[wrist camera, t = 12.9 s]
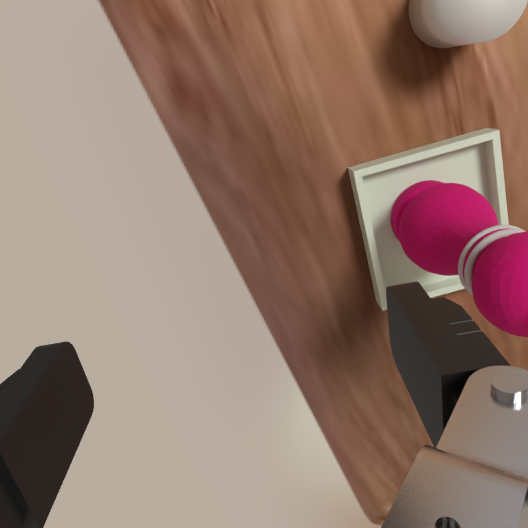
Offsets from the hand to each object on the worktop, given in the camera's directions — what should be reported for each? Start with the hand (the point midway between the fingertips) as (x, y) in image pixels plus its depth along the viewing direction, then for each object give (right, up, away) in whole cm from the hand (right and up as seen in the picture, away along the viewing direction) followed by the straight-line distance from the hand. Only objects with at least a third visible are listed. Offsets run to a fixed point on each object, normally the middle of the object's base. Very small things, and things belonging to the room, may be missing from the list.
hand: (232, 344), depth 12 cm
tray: (+15, +6, +31) cm, 35 cm away
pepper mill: (+15, +6, +30) cm, 34 cm away
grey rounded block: (+15, +22, +25) cm, 36 cm away
